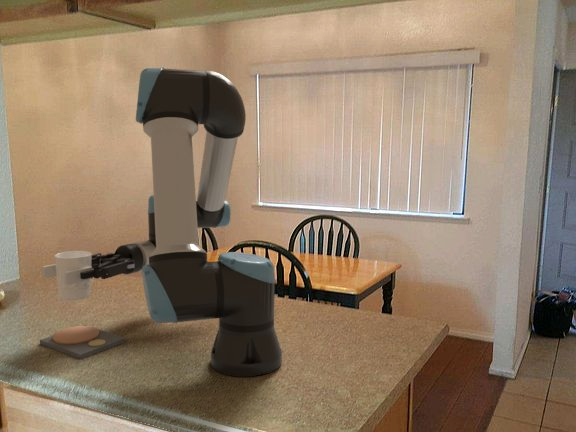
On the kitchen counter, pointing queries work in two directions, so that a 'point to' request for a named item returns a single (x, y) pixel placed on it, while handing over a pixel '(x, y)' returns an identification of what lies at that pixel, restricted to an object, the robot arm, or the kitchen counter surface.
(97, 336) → the board
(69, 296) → the white cup
